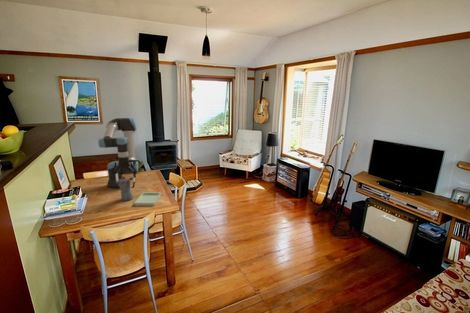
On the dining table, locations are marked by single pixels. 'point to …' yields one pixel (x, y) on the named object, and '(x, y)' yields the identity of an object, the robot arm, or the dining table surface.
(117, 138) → the robot arm
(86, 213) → the dining table surface
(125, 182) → the moka pot
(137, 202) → the tray
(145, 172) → the dining table surface
